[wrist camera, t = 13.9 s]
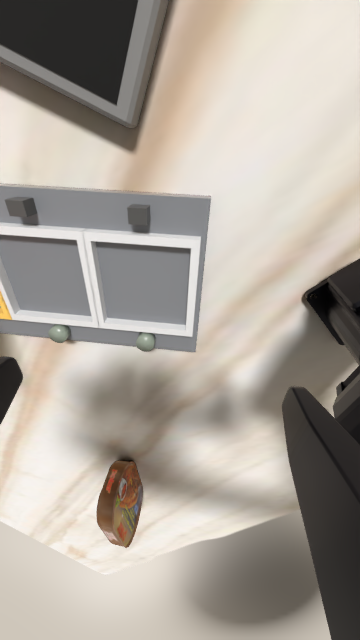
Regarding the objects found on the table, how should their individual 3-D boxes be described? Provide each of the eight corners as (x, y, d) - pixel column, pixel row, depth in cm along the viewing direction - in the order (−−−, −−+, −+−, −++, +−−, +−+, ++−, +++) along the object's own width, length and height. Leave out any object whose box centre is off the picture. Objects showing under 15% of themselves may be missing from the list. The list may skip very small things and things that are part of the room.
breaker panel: (210, 196, 17) (210, 202, 15) (195, 345, 24) (194, 361, 22) (-135, 175, 18) (-173, 178, 16) (-49, 321, 26) (-68, 334, 24)
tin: (145, 494, 45) (133, 556, 38) (128, 492, 46) (113, 554, 39) (131, 449, 37) (113, 519, 30) (111, 448, 37) (88, 517, 30)
